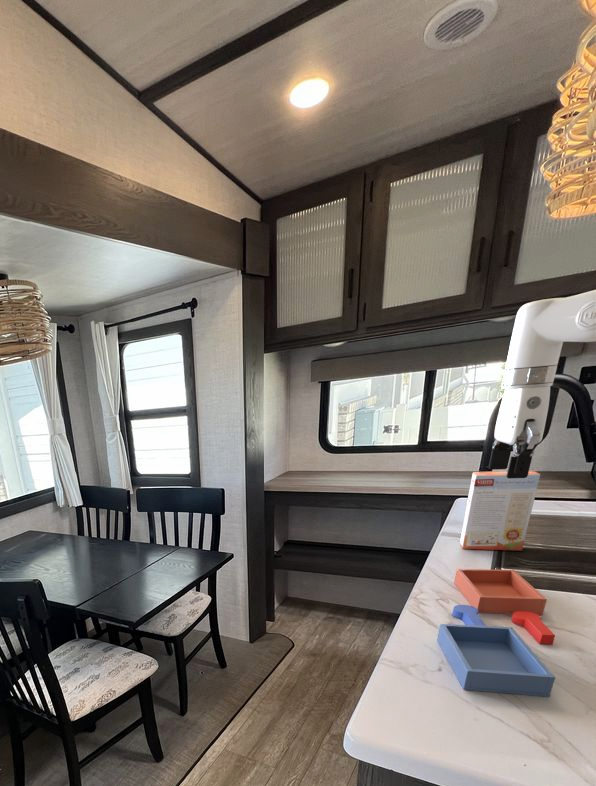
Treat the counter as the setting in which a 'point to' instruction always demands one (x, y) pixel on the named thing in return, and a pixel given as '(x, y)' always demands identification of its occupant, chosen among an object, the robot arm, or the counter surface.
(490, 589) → the terracotta bin
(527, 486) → the cracker box
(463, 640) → the blue bin
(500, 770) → the counter surface
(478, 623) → the blue keyhole shape
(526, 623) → the red keyhole shape
